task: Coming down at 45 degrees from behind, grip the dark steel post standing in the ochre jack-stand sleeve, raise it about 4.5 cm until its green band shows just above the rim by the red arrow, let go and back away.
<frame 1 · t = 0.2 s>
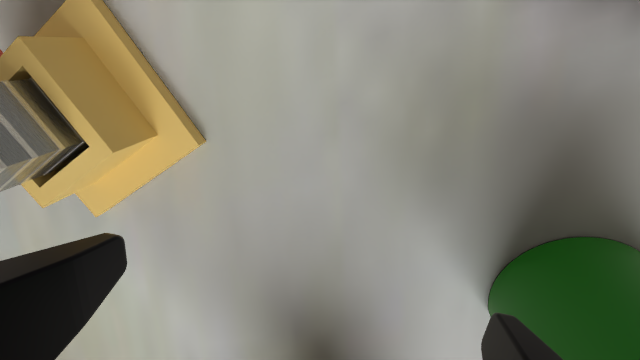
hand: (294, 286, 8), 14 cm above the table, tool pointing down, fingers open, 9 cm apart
stand base: (100, 114, 23), on the table
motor: (570, 293, 22), on the table
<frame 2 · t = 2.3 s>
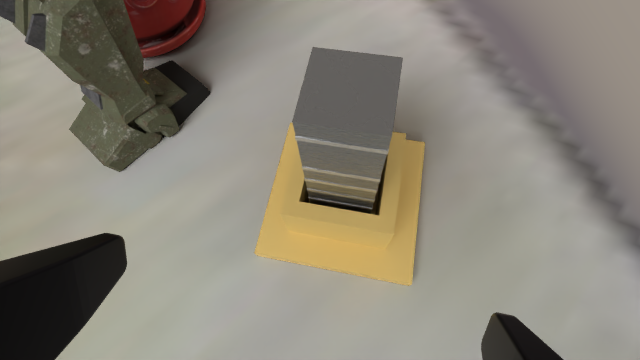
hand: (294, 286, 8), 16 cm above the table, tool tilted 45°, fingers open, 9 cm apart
stand base: (344, 199, 26), on the table
plant pot: (159, 25, 35), on the table
column: (346, 155, 20), point 7 cm above the table, slide at 0.0 cm
mechanical leg: (142, 123, 30), on the table
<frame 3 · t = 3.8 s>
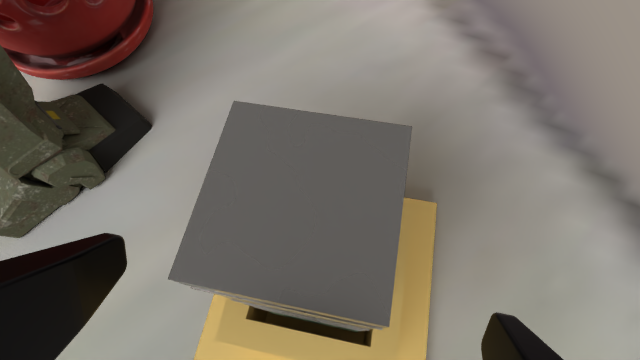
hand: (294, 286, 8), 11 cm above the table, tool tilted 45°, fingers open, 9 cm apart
stand base: (323, 284, 19), on the table
plant pot: (96, 36, 28), on the table
column: (316, 257, 12), point 7 cm above the table, slide at 0.0 cm
mechanical leg: (59, 168, 23), on the table
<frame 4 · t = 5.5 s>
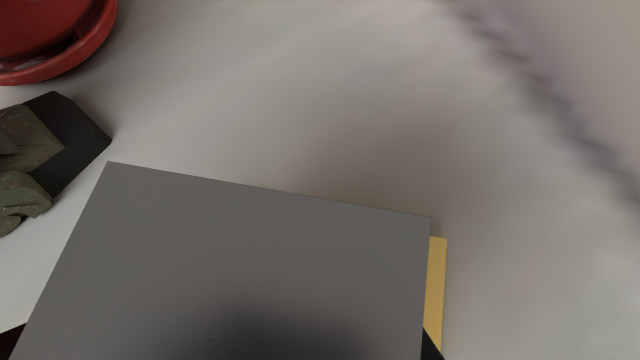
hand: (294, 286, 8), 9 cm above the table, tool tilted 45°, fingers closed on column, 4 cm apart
stand base: (309, 339, 15), on the table
plant pot: (54, 35, 24), on the table
column: (287, 346, 9), point 7 cm above the table, slide at 0.0 cm, touching gripper
mechanical leg: (1, 191, 19), on the table
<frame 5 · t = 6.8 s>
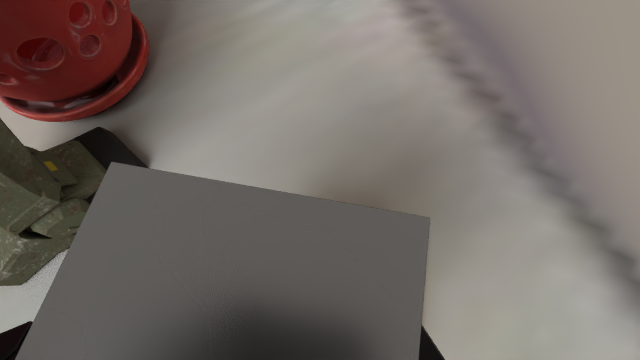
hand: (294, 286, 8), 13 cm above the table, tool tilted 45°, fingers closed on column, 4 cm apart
plant pot: (93, 73, 28), on the table
column: (288, 344, 9), point 11 cm above the table, slide at 4.2 cm, touching gripper
mechanical leg: (58, 212, 23), on the table
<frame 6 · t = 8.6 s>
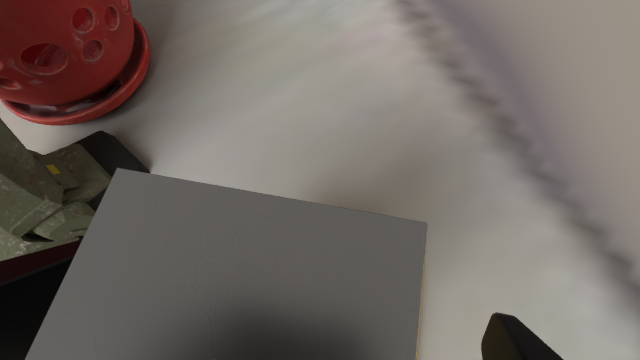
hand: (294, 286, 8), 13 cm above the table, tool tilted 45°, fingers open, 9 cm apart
plant pot: (95, 77, 28), on the table
column: (288, 346, 9), point 12 cm above the table, slide at 4.3 cm
mechanical leg: (60, 215, 24), on the table
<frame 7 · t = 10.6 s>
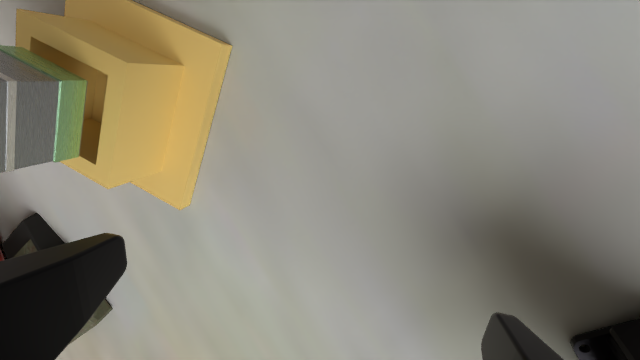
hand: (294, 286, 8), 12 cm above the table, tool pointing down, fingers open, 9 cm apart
stand base: (139, 97, 22), on the table
mechanical leg: (70, 280, 30), on the table
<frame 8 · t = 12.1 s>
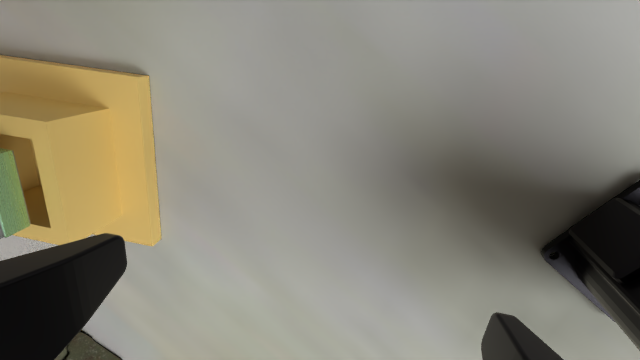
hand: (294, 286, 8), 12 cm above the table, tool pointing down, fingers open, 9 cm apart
stand base: (78, 151, 22), on the table
mechanical leg: (74, 347, 30), on the table
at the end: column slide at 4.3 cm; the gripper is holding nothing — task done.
